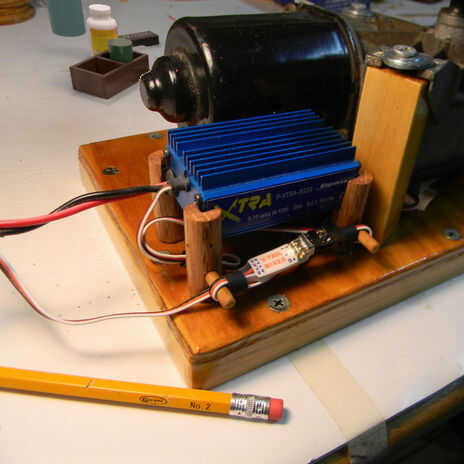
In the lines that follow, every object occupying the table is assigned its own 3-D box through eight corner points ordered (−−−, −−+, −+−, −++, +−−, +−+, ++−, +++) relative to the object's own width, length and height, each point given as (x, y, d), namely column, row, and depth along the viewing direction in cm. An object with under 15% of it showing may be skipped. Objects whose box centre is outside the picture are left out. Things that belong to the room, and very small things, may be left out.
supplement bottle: (124, 65, 118) (118, 11, 110) (96, 68, 114) (88, 12, 106) (116, 55, 122) (109, 2, 114) (89, 57, 118) (80, 3, 110)
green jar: (107, 77, 110) (102, 42, 105) (120, 70, 114) (116, 36, 109) (126, 82, 109) (122, 47, 104) (139, 75, 113) (136, 41, 108)
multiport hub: (159, 43, 132) (159, 35, 131) (124, 50, 125) (123, 41, 124) (150, 38, 134) (149, 30, 133) (115, 44, 127) (114, 36, 126)
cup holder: (73, 91, 104) (68, 66, 100) (119, 68, 116) (116, 45, 112) (107, 102, 102) (104, 77, 99) (150, 77, 115) (148, 54, 111)
